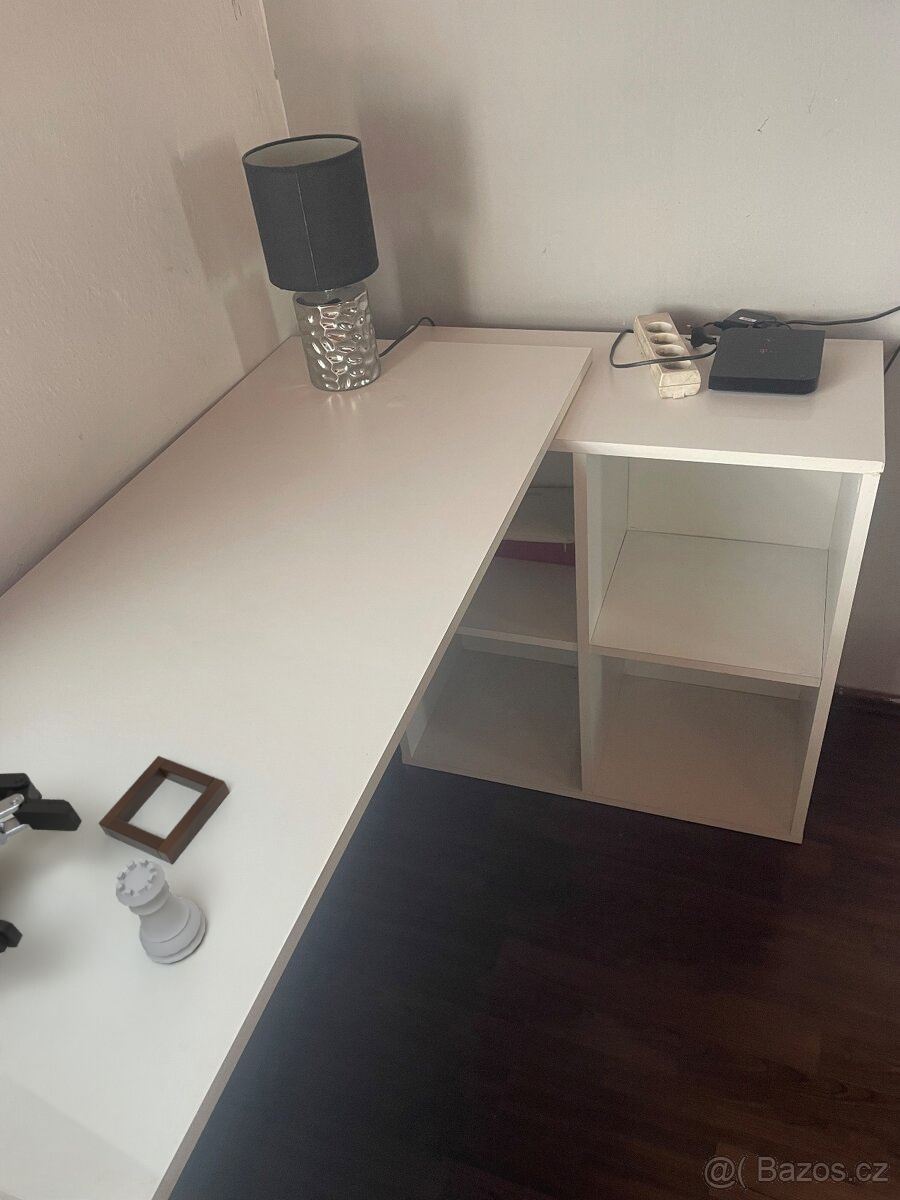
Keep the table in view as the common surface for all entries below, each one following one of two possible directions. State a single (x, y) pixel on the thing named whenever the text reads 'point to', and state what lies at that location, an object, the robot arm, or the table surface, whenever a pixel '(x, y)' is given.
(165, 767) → the holder collar
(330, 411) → the table surface
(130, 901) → the rook chess piece
